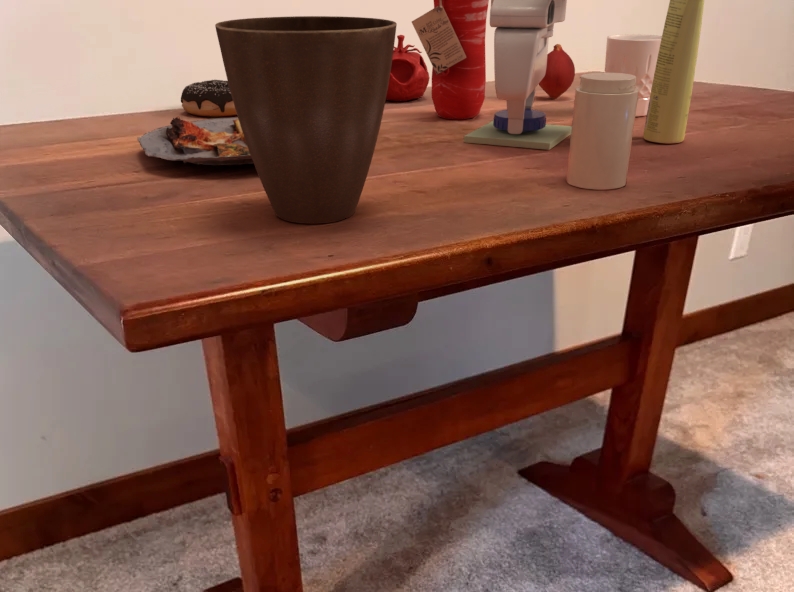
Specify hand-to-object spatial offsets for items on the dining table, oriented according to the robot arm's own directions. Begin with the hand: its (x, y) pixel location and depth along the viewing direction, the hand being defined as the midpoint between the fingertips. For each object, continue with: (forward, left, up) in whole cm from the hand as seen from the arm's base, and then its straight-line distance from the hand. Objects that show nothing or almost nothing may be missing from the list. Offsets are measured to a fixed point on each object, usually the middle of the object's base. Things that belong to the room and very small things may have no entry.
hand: (519, 126), depth 101 cm
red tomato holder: (+27, -21, -2) cm, 34 cm away
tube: (-17, -5, -2) cm, 18 cm away
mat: (0, 0, -1) cm, 1 cm away
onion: (+4, -30, -2) cm, 30 cm away
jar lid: (0, 0, +1) cm, 1 cm away
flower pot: (+7, +39, -2) cm, 40 cm away
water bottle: (+13, -9, -2) cm, 16 cm away
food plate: (+28, +21, -2) cm, 35 cm away
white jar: (-14, +18, -1) cm, 23 cm away
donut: (+47, -1, -2) cm, 47 cm away
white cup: (-9, -22, -2) cm, 24 cm away
